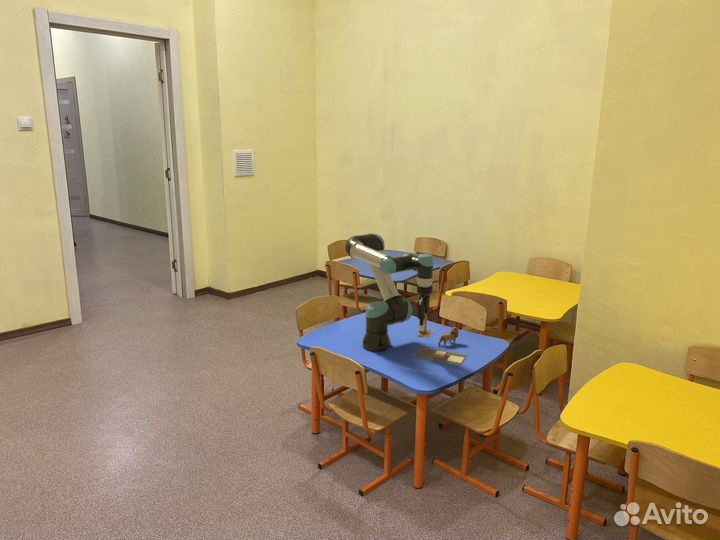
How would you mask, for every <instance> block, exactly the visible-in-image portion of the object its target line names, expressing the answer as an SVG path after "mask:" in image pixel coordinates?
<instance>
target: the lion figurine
mask: <svg viewBox="0 0 720 540" xmlns="http://www.w3.org/2000/svg"><path fill="white" fill-rule="evenodd" d="M459 331H460V330H459V328H458V327H456V326H453V327H451V331H450V333H447V334H445V333H444V334H442V335H440V338H439V341H438V343H437V346H438V348H441V343H442V342H443V345H444V347H447V345H446V344H447V341H448V342H449V344H451V343H452V341H453V343H452V344H453V345H455V344H456V340H457V338H458V337H459Z"/></svg>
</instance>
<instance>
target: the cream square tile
mask: <svg viewBox="0 0 720 540" xmlns="http://www.w3.org/2000/svg"><path fill="white" fill-rule="evenodd" d="M443 351H444V350H440V351H436V353H435V354H434V357H436V358H442V359H444V358H445V356H446V353H447V352H448V351H446V352H443Z"/></svg>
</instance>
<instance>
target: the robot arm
mask: <svg viewBox="0 0 720 540" xmlns="http://www.w3.org/2000/svg"><path fill="white" fill-rule="evenodd" d="M385 245H386V244H385V240H384V239H383V237H382V236H381V235H379V234H378V233H368V234H367V233H366V234H360V235H353V236H351V237H349V238H348V239H347V240H346V242H345V244H344V250H345V253H346V255H347V256H348V257H350V258H352V259H354V260H361V261H363V262H364V263H365V262H366V263H368V264H369V267H370V269H371V272H372V275H373V276H374V278H375V281H376V284H377V286H378V289H379V291H380V293H381V295H382V298H383V301H381V300H380V301H378V300H377V301H373V302H372V301H371V302H370V303H369V304H367V306H366V308H365V334H364V336H363V339H362V345H361V346H362V348H363V349H365V350H367V351H371V352H385V351H387V350H389V349H390V348H391V345H392V342H391V337H390V336H389V330H388V329H389V326H391V325H392V326H393V325H397V324H402V323H404V322H407V321H409V320H410V319H411V317H412V313H413V305H412V303H411V302H410V300H408V299H405V298H404V296H403V295H402V294H400V293H399V291H398V289H397V287H396V285H395V283H394V280H393V278H392V276H391V275H393V274H395V273H402V272H407V271H413V272H417V274H416V275H417V276H416V277H417V280H416V284H417V285H416V292H417V293H418V294H419V295H420V296H419V298H418V300H417V319H418V320H419V321H418V332H419V331H424V329H425V319H424V316H425V313H427V317H429V316H430V314H429V313H430V302H431V301H430V299H431V294H432V292H433V282H434V279H433V278H434V277H433V272H434V256H433V255H432V254H430V253H421V254H418V255H415V254H414V253H413V254H412V253H404V254H403V255H402V256H395V257H392V256H390V255H388V254H385V252H384V251H385V249H386V247H385Z"/></svg>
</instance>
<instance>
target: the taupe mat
mask: <svg viewBox="0 0 720 540" xmlns="http://www.w3.org/2000/svg"><path fill="white" fill-rule="evenodd" d="M436 351H441V350H439V349H435V348H434V349H433V348H428V347H420V348H418V350H417V351H416V352H415V353H414V354H413V356H412V358H415V359H420V360H427V361H432V362H437V363H442V364H448V365H454V366H460V367H461V366H462V365H463V364H464V363H465V361H466V359H467V358H468V357H469V355H467V354H463V353H456V352H450V351H445V350H442V351H443V352H447V353H446V356H445V358H444V359H442V358H436V357H434V354H435V353H436Z"/></svg>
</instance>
